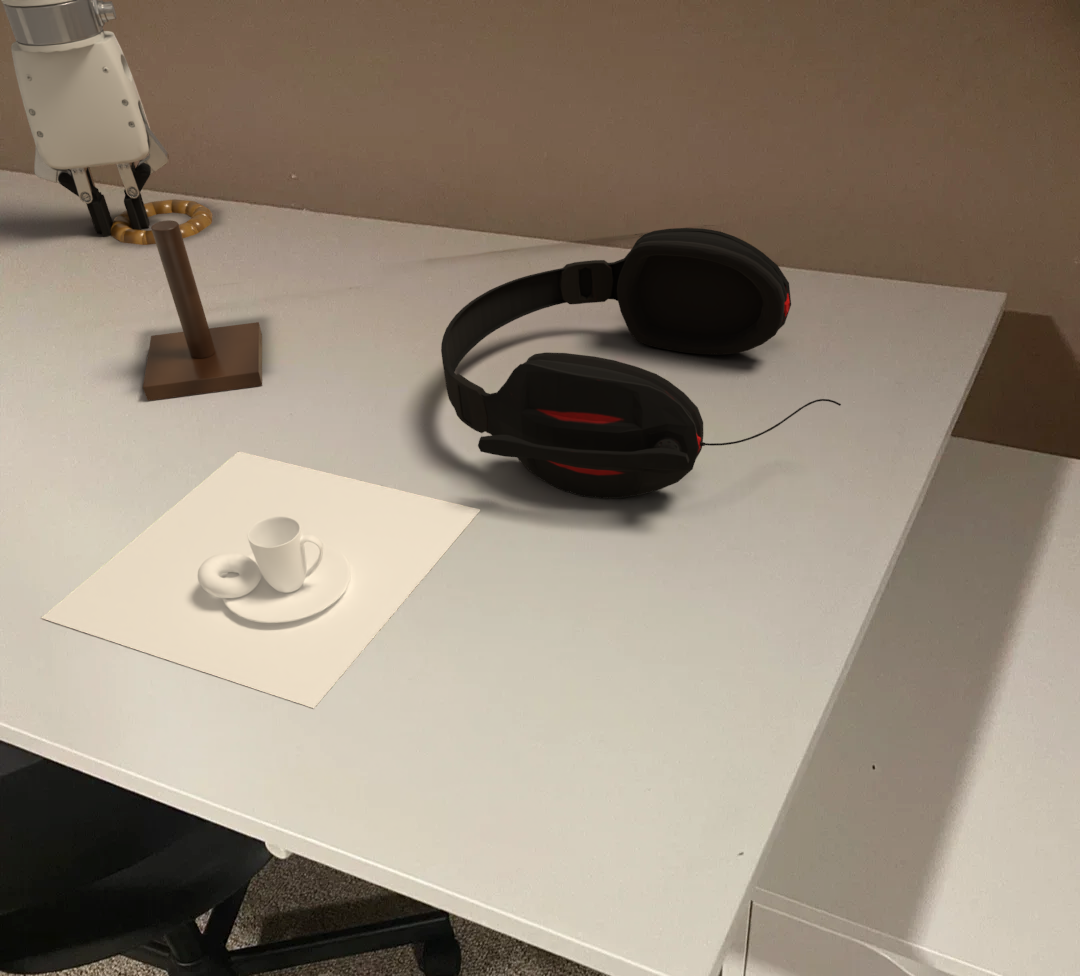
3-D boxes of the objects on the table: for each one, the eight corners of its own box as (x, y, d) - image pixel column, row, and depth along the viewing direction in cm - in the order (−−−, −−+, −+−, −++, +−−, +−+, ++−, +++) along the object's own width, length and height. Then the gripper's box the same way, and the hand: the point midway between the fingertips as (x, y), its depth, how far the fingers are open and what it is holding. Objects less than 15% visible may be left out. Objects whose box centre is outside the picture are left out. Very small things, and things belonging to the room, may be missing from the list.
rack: (147, 401, 80) (95, 256, 71) (155, 349, 86) (108, 210, 78) (262, 385, 80) (224, 241, 72) (262, 335, 87) (227, 196, 78)
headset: (847, 515, 65) (875, 390, 59) (442, 537, 65) (426, 415, 59) (765, 320, 85) (779, 210, 78) (453, 337, 85) (441, 228, 78)
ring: (110, 261, 99) (103, 240, 98) (120, 223, 106) (113, 203, 104) (213, 249, 100) (207, 228, 99) (216, 212, 107) (211, 192, 105)
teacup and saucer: (186, 606, 62) (165, 552, 59) (262, 533, 67) (247, 480, 64) (305, 642, 59) (290, 588, 56) (376, 564, 64) (365, 510, 61)
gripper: (151, 4, 92) (208, 215, 106) (-31, 21, 91) (50, 233, 104) (145, 23, 87) (205, 242, 101) (-48, 42, 86) (39, 262, 99)
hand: (126, 236), depth 102 cm, fingers closed on ring, 2 cm apart
